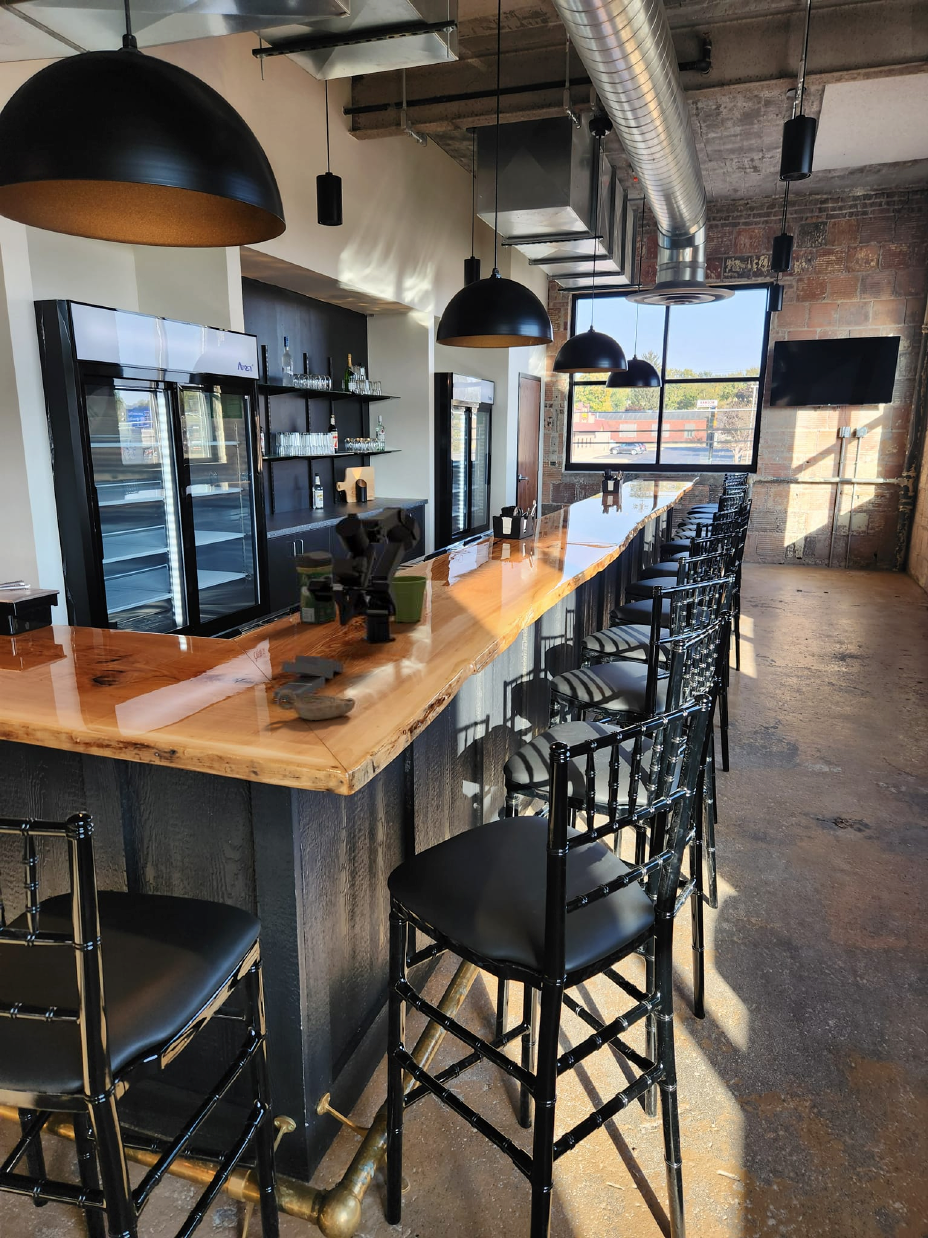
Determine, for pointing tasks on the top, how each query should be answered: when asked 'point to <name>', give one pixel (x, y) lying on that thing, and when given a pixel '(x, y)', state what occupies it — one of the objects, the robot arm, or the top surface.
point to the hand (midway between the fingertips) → (342, 625)
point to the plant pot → (409, 597)
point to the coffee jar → (308, 569)
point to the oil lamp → (317, 705)
